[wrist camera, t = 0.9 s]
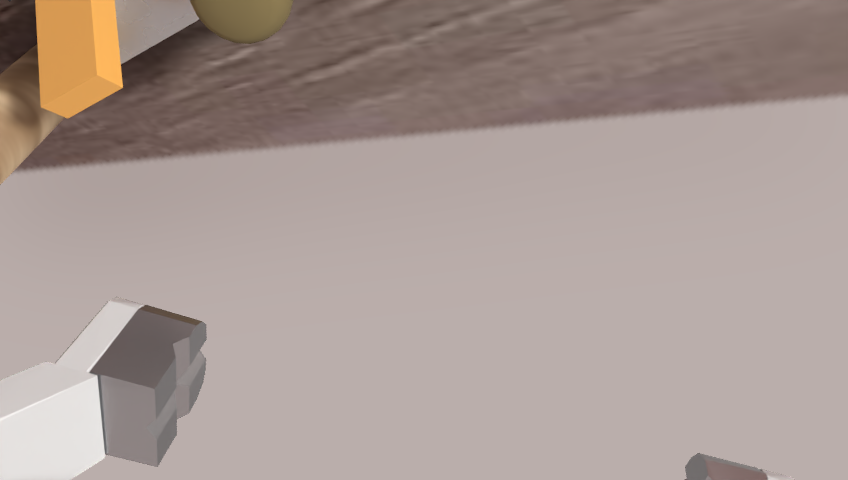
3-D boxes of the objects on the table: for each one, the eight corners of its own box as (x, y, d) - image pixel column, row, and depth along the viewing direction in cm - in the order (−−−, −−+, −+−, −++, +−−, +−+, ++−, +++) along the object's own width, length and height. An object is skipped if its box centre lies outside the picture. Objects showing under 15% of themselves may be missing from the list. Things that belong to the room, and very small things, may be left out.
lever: (29, -57, 41) (38, 108, 37) (85, -96, 39) (99, 73, 36) (54, -42, 42) (65, 119, 38) (109, -79, 40) (125, 86, 37)
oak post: (18, 55, 50) (-140, 183, 38) (63, 27, 49) (-87, 151, 36) (64, 106, 53) (-70, 243, 40) (108, 81, 51) (-18, 215, 39)
